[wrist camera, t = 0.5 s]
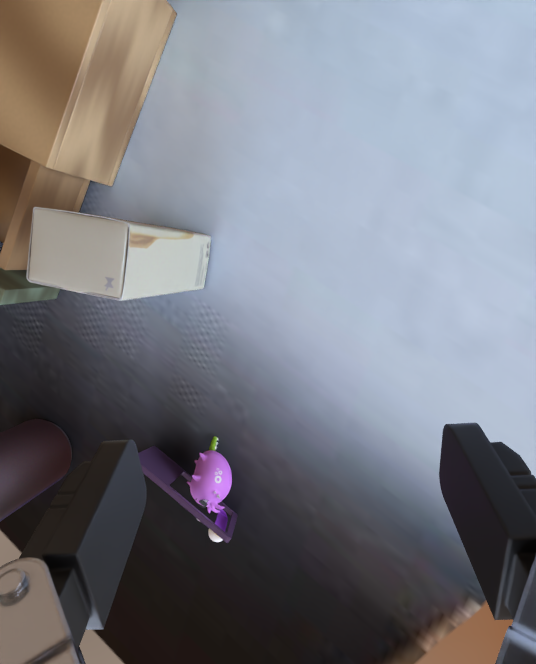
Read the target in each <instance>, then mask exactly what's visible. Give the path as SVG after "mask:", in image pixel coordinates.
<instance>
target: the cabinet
mask: <svg viewBox="0 0 536 664" xmlns="http://www.w3.org/2000/svg"><path fill="white" fill-rule="evenodd" d="M176 15H177V13H176V12H175V11H174V9H173V8H172V7H171V5H170V4H169V3H168V2H167V0H0V144H1V145H3V146H5V147H7V148H9V149H11V150H13V151H15V152H17V153H19V154H21V155H23V156H25V157H27V158H29V159H31V160H33V161H35V162H37V163H39V164H40V165H42V166H44V167H47V168H50V169H53V170H57V171H60V172H64V173H67V174H70V175H74V176H77V177H81V178H84V179H87V180H91V181H94V182H98V183H101V184H105V185H108V186H112V185H113V183H114V180H115V177H116V175H117V172H118V169H119V167H120V164H121V161H122V159H123V156H124V154H125V151H126V148H127V146H128V143H129V140H130V138H131V135H132V132H133V130H134V127H135V124H136V122H137V119H138V116H139V114H140V111H141V108H142V106H143V103H144V100H145V98H146V95H147V92H148V90H149V87H150V84H151V82H152V79H153V76H154V74H155V71H156V68H157V66H158V63H159V60H160V58H161V55H162V52H163V50H164V47H165V44H166V42H167V39H168V36H169V34H170V31H171V28H172V26H173V23H174V21H175V18H176Z"/></svg>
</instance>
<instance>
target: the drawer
mask: <svg viewBox="0 0 536 664" xmlns="http://www.w3.org/2000/svg"><path fill="white" fill-rule="evenodd" d="M89 183H90V180H87V179H84V178H81V177H77V176H74V175H70V174H67V173H64V172H60V171H57V170H53V169H50V168H47V167H44V166H42V165H40V164H39V163H37V162H35V161H33V160H31V159H29V158H27V157H25V156H23V155H21V154H19V153H17V152H15V151H13V150H11V149H9V148H7V147H5V146H3V145H1V144H0V241H1V242H3V243H4V244H3V247H2V250H1V253H0V305H6V304H15V303H24V302H33V301H41V300H50V299H57V296H58V294H59V291H60V288H55V287H50V286H45V285H41V284H36V283H31V282H29V281H28V280H27V278H26V275H27V264H28V253H29V242H30V233H31V224H32V214H33V208H34V207H41V208H49V209H57V210H65V211H72V212H79V211H80V208H81V205H82V202H83V200H84V197H85V194H86V191H87V189H88V186H89Z"/></svg>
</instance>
